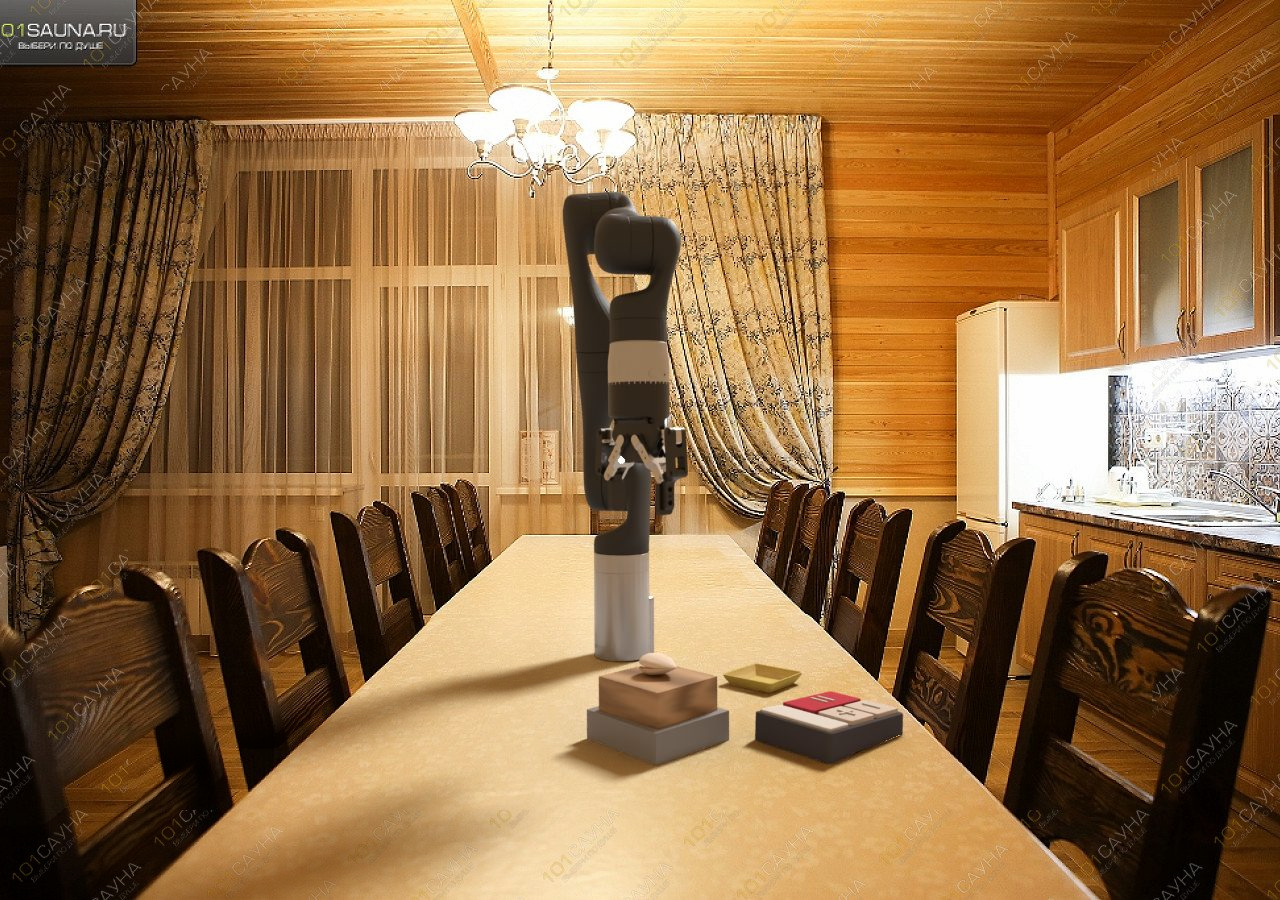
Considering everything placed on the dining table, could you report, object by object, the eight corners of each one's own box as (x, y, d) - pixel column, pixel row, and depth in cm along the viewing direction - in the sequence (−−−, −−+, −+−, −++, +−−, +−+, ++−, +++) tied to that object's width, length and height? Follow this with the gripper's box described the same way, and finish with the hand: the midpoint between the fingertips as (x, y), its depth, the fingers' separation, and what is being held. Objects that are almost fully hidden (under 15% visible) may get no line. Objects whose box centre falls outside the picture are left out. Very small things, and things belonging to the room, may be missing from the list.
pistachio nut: (654, 668, 107) (654, 648, 107) (687, 675, 103) (687, 654, 103) (631, 675, 103) (631, 654, 103) (664, 682, 100) (664, 660, 100)
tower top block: (658, 693, 110) (657, 661, 110) (717, 709, 103) (717, 676, 103) (598, 709, 103) (598, 676, 103) (658, 729, 96) (657, 693, 96)
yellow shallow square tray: (721, 687, 126) (721, 673, 126) (755, 675, 133) (755, 662, 133) (771, 699, 120) (771, 684, 120) (803, 686, 127) (803, 671, 127)
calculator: (905, 706, 105) (831, 726, 95) (904, 742, 104) (829, 766, 94) (829, 687, 113) (754, 704, 103) (828, 721, 113) (753, 741, 103)
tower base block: (659, 720, 111) (659, 689, 111) (729, 744, 103) (729, 710, 103) (586, 742, 103) (586, 709, 103) (656, 770, 94) (655, 733, 94)
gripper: (702, 378, 103) (703, 514, 103) (623, 383, 113) (624, 507, 114) (656, 376, 98) (657, 519, 98) (578, 382, 108) (579, 511, 109)
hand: (639, 512), depth 106 cm, fingers open, 8 cm apart
